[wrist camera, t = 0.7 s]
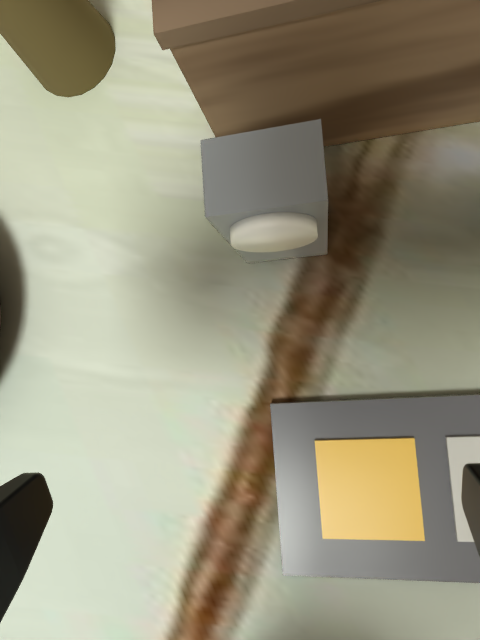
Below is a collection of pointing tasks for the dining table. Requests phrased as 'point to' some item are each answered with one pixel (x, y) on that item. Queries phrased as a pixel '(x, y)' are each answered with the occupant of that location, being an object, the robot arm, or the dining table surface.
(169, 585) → the dining table surface
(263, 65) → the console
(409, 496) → the card
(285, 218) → the button
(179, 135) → the dining table surface
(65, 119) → the dining table surface
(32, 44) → the cork
